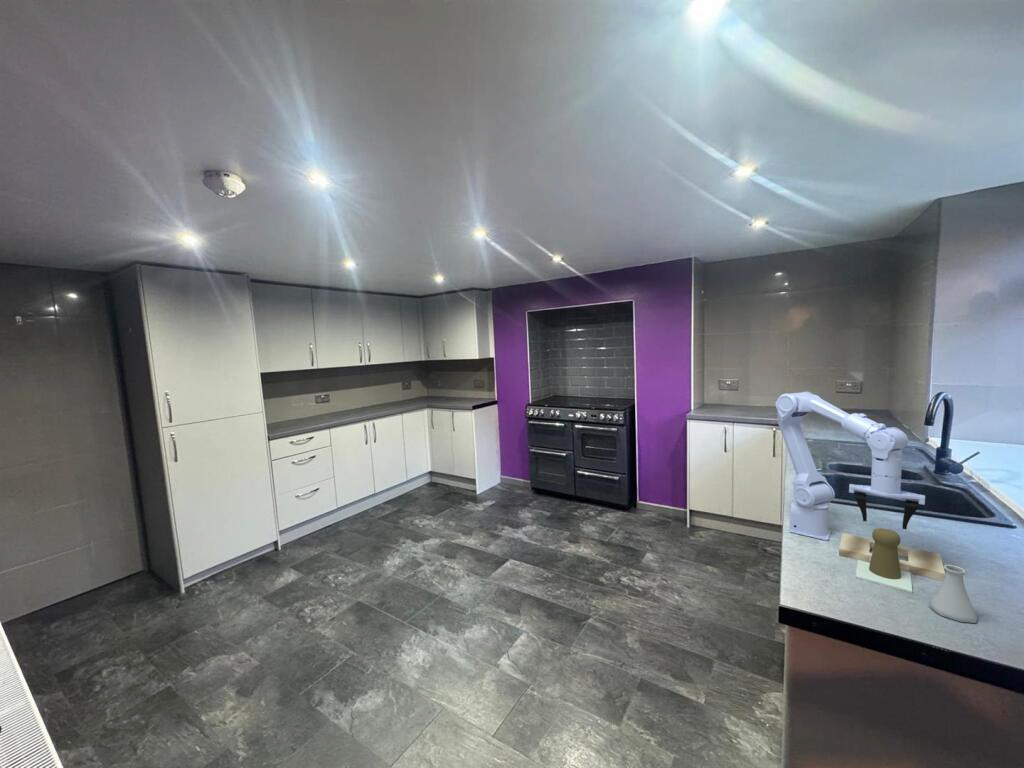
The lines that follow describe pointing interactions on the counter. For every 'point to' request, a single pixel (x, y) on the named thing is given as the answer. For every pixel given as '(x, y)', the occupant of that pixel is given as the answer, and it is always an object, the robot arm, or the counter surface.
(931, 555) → the socket board
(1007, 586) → the counter surface
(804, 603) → the counter surface
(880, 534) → the cork
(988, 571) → the counter surface
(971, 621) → the flask
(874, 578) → the rubber mat
